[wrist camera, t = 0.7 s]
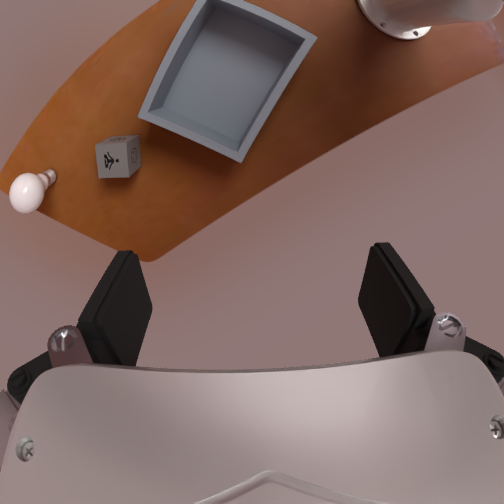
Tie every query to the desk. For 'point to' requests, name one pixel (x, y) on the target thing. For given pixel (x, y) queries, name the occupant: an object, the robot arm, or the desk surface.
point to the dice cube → (118, 156)
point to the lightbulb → (30, 190)
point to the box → (225, 74)
